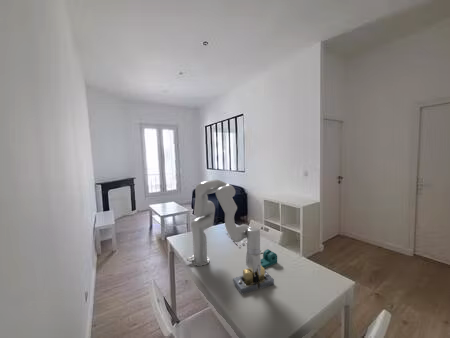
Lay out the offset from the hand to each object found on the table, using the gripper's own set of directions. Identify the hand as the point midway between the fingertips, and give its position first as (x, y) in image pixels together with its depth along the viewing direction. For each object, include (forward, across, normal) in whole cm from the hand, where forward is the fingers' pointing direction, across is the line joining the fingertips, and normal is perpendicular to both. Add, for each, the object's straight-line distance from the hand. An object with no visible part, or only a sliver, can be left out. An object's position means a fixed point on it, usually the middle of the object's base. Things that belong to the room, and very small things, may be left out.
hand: (253, 279), depth 120 cm
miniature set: (+3, -62, +17) cm, 64 cm away
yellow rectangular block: (+1, 0, 0) cm, 1 cm away
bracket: (+3, -15, +16) cm, 22 cm away
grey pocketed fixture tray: (+2, 0, 0) cm, 2 cm away
